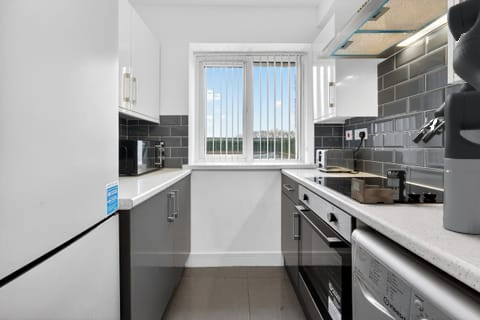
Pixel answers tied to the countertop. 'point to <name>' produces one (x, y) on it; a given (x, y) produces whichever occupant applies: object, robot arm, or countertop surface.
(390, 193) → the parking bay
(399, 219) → the countertop surface
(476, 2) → the robot arm
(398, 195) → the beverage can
